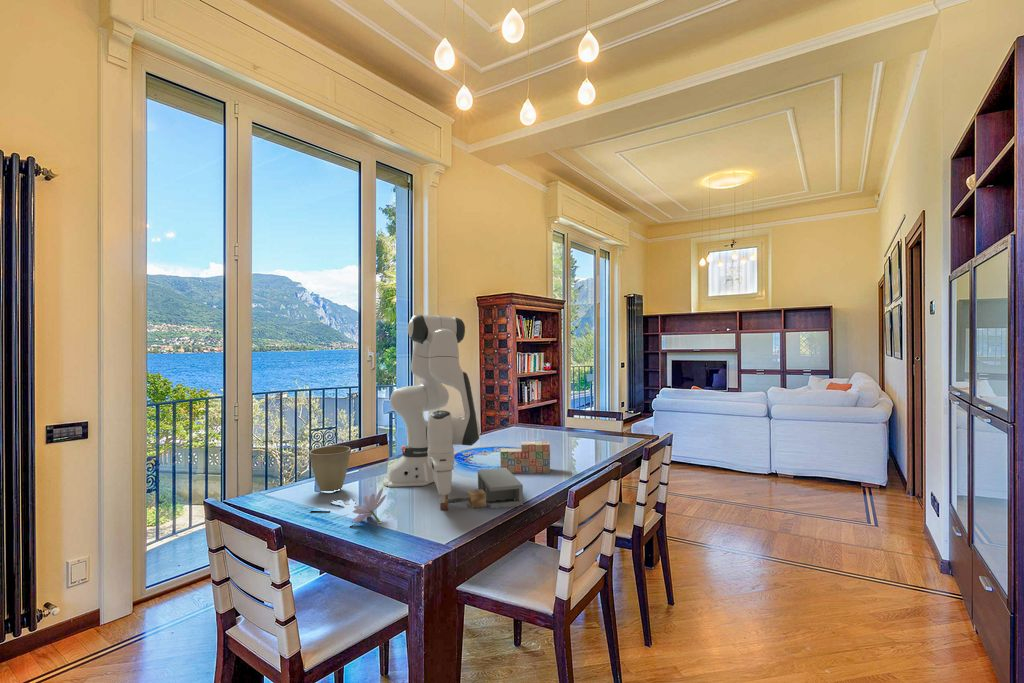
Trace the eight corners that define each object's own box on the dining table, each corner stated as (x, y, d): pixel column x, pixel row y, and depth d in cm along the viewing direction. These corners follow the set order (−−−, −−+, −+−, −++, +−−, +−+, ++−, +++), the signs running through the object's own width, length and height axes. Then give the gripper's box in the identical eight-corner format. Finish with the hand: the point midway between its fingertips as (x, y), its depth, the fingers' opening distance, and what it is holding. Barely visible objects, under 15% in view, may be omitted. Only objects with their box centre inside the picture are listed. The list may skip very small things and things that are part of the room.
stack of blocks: (500, 473, 218) (499, 444, 217) (501, 469, 224) (500, 441, 224) (550, 472, 216) (549, 444, 216) (550, 469, 223) (549, 441, 223)
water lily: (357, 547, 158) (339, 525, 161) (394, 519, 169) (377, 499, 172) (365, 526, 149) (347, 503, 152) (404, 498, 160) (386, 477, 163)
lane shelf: (491, 508, 171) (490, 487, 171) (478, 488, 195) (477, 469, 195) (522, 505, 174) (522, 484, 174) (506, 485, 198) (506, 467, 198)
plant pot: (306, 490, 198) (305, 449, 198) (344, 483, 206) (343, 444, 206) (315, 499, 185) (315, 456, 185) (356, 492, 194) (355, 450, 194)
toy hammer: (441, 511, 169) (441, 491, 169) (439, 507, 174) (438, 487, 174) (486, 506, 174) (485, 486, 174) (482, 502, 179) (481, 482, 179)
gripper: (428, 453, 181) (429, 492, 181) (434, 467, 161) (435, 510, 161) (446, 452, 183) (447, 490, 183) (454, 465, 163) (455, 508, 163)
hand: (441, 500), depth 172 cm, fingers closed on toy hammer, 3 cm apart
